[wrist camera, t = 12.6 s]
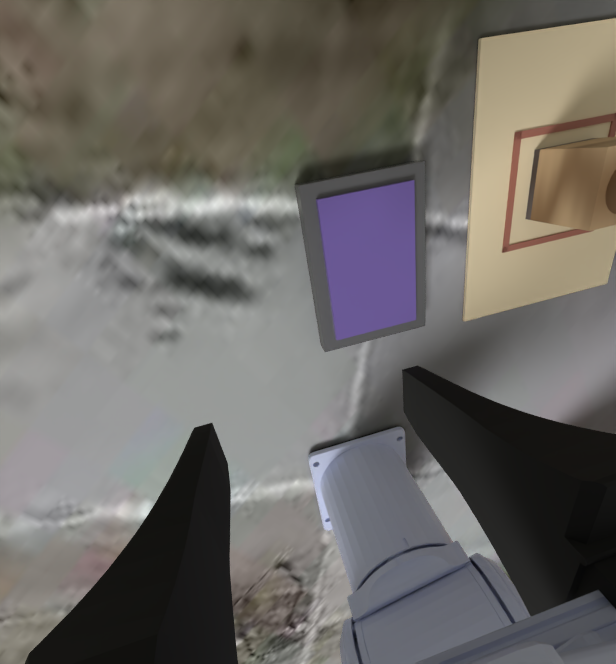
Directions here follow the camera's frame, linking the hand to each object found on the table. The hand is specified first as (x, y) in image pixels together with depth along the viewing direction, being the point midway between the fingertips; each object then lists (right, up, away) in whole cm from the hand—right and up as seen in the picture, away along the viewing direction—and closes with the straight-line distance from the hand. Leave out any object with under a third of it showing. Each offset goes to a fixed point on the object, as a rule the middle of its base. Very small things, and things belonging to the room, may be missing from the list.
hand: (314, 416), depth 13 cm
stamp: (+15, +13, +9) cm, 22 cm away
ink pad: (+3, +7, +9) cm, 12 cm away
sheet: (+15, +12, +9) cm, 22 cm away
